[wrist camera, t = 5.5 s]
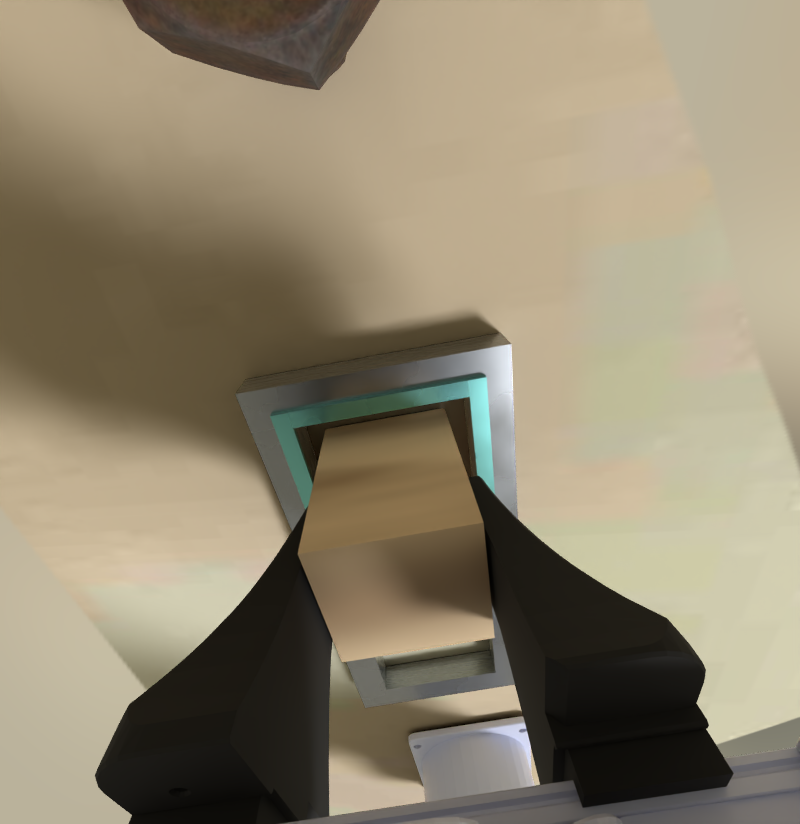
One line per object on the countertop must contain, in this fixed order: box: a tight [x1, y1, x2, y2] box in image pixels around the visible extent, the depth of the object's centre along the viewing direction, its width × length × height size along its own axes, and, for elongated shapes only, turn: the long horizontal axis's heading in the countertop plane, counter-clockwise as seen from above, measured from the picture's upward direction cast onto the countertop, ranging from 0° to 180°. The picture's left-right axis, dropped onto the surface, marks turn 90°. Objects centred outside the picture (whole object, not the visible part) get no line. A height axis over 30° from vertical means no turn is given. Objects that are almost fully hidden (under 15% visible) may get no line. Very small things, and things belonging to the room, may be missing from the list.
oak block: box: [298, 408, 495, 662], centre depth 13 cm, size 4×4×6 cm
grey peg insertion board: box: [235, 333, 518, 708], centre depth 18 cm, size 20×9×1 cm, turn 10°
